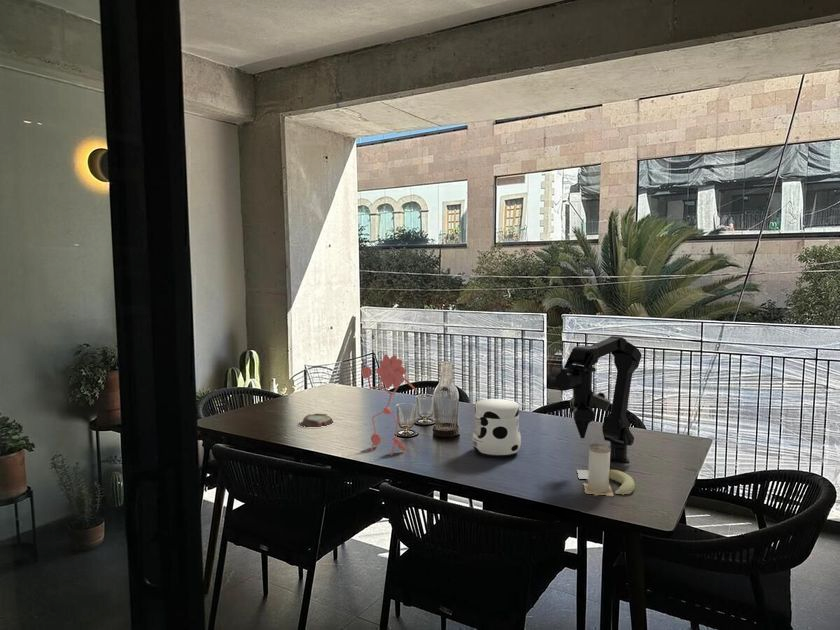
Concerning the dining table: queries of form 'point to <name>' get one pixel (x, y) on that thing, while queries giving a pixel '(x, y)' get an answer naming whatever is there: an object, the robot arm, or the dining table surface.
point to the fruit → (622, 482)
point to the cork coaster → (609, 493)
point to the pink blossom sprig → (389, 375)
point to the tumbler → (599, 468)
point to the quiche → (316, 420)
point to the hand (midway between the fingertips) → (581, 434)
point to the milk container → (496, 428)
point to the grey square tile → (582, 474)
